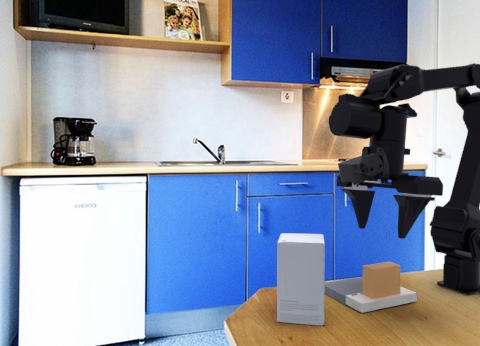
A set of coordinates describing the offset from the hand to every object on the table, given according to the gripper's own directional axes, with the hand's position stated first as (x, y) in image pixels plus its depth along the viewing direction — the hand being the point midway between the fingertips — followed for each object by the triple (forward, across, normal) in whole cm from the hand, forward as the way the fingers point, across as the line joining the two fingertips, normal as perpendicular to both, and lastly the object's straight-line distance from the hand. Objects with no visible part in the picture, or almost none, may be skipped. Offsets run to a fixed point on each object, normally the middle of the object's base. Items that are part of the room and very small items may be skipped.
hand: (380, 233), depth 64 cm
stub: (+12, 0, +1) cm, 12 cm away
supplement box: (+14, -2, -14) cm, 19 cm away
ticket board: (+12, -6, +1) cm, 14 cm away
